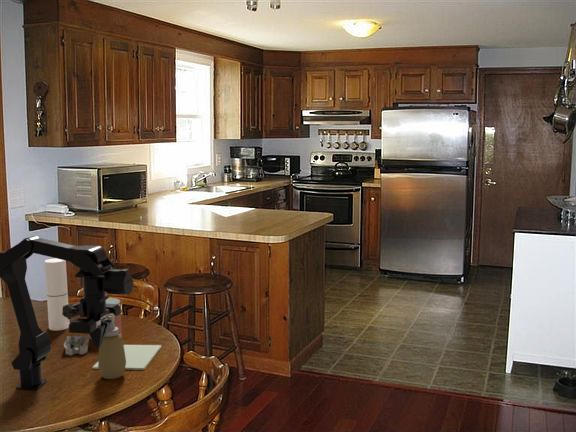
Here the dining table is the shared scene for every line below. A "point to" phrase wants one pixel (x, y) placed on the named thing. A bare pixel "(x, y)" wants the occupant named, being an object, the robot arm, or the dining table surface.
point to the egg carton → (76, 345)
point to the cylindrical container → (56, 293)
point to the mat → (138, 356)
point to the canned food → (115, 318)
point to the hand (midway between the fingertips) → (97, 347)
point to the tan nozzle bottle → (112, 353)
